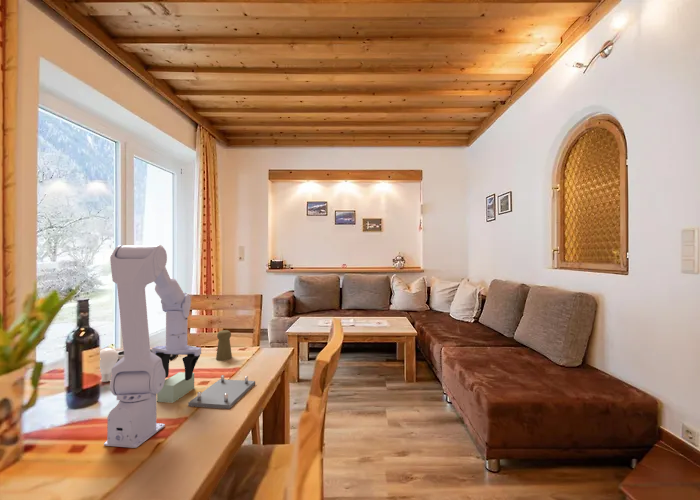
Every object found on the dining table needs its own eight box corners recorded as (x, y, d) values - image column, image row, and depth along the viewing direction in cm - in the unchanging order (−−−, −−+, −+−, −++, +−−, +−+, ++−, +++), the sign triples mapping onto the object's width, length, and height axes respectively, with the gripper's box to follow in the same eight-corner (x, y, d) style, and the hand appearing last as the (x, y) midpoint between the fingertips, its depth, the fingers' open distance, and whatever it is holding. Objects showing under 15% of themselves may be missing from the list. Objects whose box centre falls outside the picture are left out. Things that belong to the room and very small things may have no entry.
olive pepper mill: (215, 357, 134) (215, 329, 134) (231, 355, 137) (231, 328, 137) (216, 361, 129) (216, 333, 129) (232, 359, 131) (232, 331, 132)
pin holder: (229, 408, 90) (229, 397, 90) (188, 406, 91) (188, 395, 91) (255, 384, 107) (255, 374, 107) (219, 382, 108) (219, 373, 108)
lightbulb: (103, 387, 104) (103, 351, 104) (89, 384, 106) (89, 350, 106) (122, 379, 110) (123, 346, 110) (109, 377, 112) (109, 344, 112)
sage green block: (173, 403, 94) (173, 385, 94) (157, 402, 94) (157, 384, 94) (194, 389, 103) (194, 372, 104) (179, 388, 104) (179, 372, 104)
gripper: (207, 330, 102) (206, 374, 102) (163, 329, 104) (163, 372, 104) (193, 336, 95) (193, 383, 95) (147, 334, 97) (146, 381, 97)
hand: (176, 378), depth 99 cm, fingers open, 7 cm apart
